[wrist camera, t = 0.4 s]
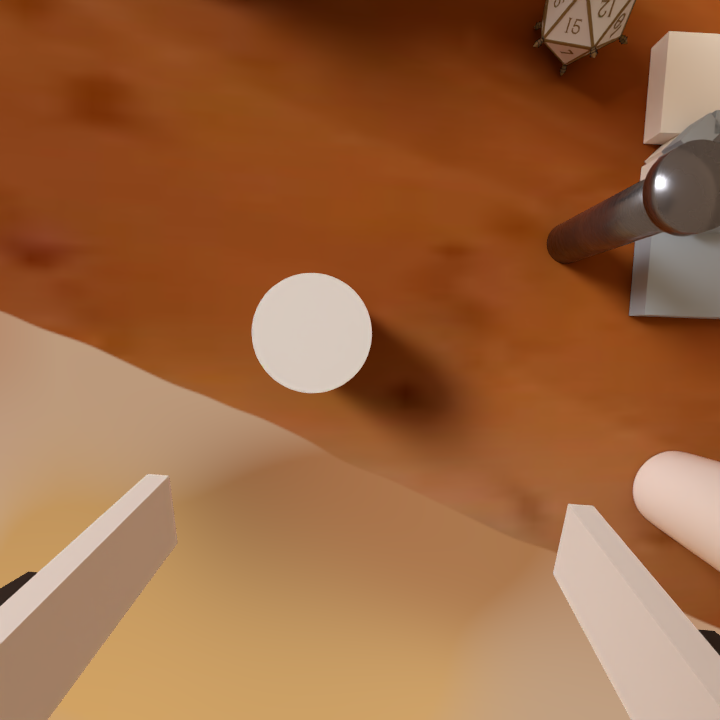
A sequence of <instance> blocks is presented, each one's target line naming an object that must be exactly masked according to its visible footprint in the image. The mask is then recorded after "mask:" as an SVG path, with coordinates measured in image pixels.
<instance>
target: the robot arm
mask: <svg viewBox="0 0 720 720" xmlns="http://www.w3.org/2000/svg"><path fill="white" fill-rule="evenodd" d="M176 544H177V535H176V527H175V520H174V511H173V503H172V495H171V486H170V478H169V476H167V475H153V474H147V475H146V476H145V477H144V478H143V479H141V480H140V481H139V482H138V483H137V484H136V485H135V486H134V487H133V488H131V489H130V490H129V491H128V492H127V493H126V494H125V495H124V496H122V498H120V499H119V500H118V501H117V502H116V503H115V504H114V505H112V506H111V507H110V508H109V509H108V510H107V511H106V512H105V513H104V514H103V515H101V516H100V517H99V518H98V519H97V520H96V521H95V522H94V523H92V524H91V525H90V526H89V527H88V528H87V529H86V530H85V531H84V532H82V533H81V534H80V535H79V536H78V537H77V538H76V539H75V540H74V541H72V542H71V543H70V544H69V545H68V546H67V547H66V548H65V549H63V550H62V551H61V552H60V553H59V554H58V555H57V556H56V557H55V558H53V559H52V560H51V561H50V562H49V563H48V564H47V565H46V566H45V567H43V568H42V569H41V570H40V571H39V572H38V573H37V572H27V573H26V574H24V575H22V576H20V577H19V578H17V579H15V580H14V581H12V582H10V583H9V584H7V585H5V586H4V587H2V588H0V720H48V718H49V717H50V716H51V714H52V713H53V711H54V710H55V709H56V707H57V706H58V705H59V703H60V702H61V701H62V699H63V698H64V696H65V695H66V694H67V692H68V691H69V690H70V688H71V687H72V686H73V684H74V683H75V682H76V680H77V679H78V677H79V676H80V675H81V673H82V672H83V671H84V669H85V668H86V666H87V665H88V664H89V663H90V661H91V660H92V658H93V657H94V656H95V654H96V653H97V652H98V650H99V649H100V647H101V646H102V645H103V643H104V642H105V641H106V639H107V638H108V636H109V635H110V634H111V633H112V631H113V630H114V629H115V627H116V626H117V624H118V623H119V622H120V620H121V619H122V618H123V616H124V615H125V613H126V612H127V611H128V610H129V608H130V607H131V605H132V604H133V603H134V601H135V600H136V598H137V597H138V596H139V595H140V593H141V592H142V590H143V589H144V588H145V586H146V585H147V584H148V582H149V581H150V580H151V578H152V577H153V576H154V574H155V573H156V571H157V570H158V569H159V567H160V566H161V565H162V563H163V561H165V559H166V558H167V557H168V555H169V554H170V552H171V551H172V550H173V548H174V547H175V546H176ZM553 575H554V576H555V578H556V580H557V582H558V584H559V586H560V588H561V590H562V592H563V593H564V595H565V597H566V599H567V601H568V603H569V604H570V607H571V608H572V610H573V612H574V614H575V616H576V618H577V620H578V621H579V623H580V625H581V627H582V629H583V631H584V633H585V635H586V636H587V638H588V640H589V642H590V644H591V646H592V648H593V650H594V652H595V653H596V655H597V657H598V659H599V661H600V663H601V665H602V667H603V669H604V670H605V672H606V674H607V676H608V678H609V680H610V682H611V683H612V685H613V687H614V689H615V691H616V693H617V695H618V697H619V699H620V700H621V702H622V704H623V706H624V708H625V710H626V712H627V714H628V715H629V717H630V719H631V720H720V635H719V634H717V633H716V632H715V631H708V630H698V629H697V628H696V627H695V626H694V625H693V623H691V621H690V620H689V619H688V618H687V616H686V615H685V614H684V613H683V612H682V610H681V609H680V608H679V607H678V606H677V605H676V603H675V602H674V601H673V600H672V599H671V597H670V596H669V595H668V594H667V593H666V592H665V590H664V589H663V588H662V587H661V586H660V584H659V583H658V582H657V581H656V580H655V578H654V577H653V576H652V575H651V574H650V573H649V571H648V570H647V569H646V568H645V567H644V565H643V564H642V563H641V562H640V561H639V560H638V558H637V557H636V556H635V555H634V554H633V552H632V551H631V550H630V549H629V548H628V546H627V545H626V544H625V543H624V542H623V541H622V539H621V538H620V537H619V536H618V535H617V533H616V532H615V531H614V530H613V529H612V528H611V526H610V525H609V524H608V523H607V522H606V520H605V519H604V518H603V517H602V516H601V514H600V513H599V512H598V511H597V510H596V509H595V507H594V506H590V505H576V504H568V507H567V512H566V516H565V521H564V525H563V530H562V535H561V539H560V544H559V548H558V553H557V557H556V562H555V567H554V571H553Z"/></svg>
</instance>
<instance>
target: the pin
mask: <svg viewBox="0 0 720 720" xmlns="http://www.w3.org/2000/svg"><path fill="white" fill-rule="evenodd" d="M718 226H720V143H717V142H715V141H711V140H704V139H702V140H692V141H689V142H686V143H684V144H682V145H680V146H678V147H676V148H675V149H673V150H671V151H669V152H668V153H666V154H664V155H663V156H662V157H660V158H659V159H658V160H657V161H656V162H655V163H654V164H653V165H652V167H651V168H650V170H649V172H648V173H647V176H646V178H645V179H644V180H642V181H640V182H638V183H636V184H634V185H633V186H631V187H629V188H627V189H625V190H623V191H621V192H619V193H618V194H616V195H614V196H612V197H610V198H608V199H606V200H604V201H603V202H601V203H599V204H597V205H595V206H593V207H591V208H590V209H588V210H586V211H584V212H582V213H580V214H578V215H576V216H575V217H573V218H571V219H569V220H567V221H565V222H563V223H561V224H560V225H558V226H556V227H555V228H554V229H553V230H552V231H551V232H550V234H549V236H548V239H547V249H548V252H549V254H550V255H551V257H552V258H553V259H554V260H556V261H557V262H560V263H565V264H566V263H572V262H575V261H578V260H581V259H584V258H587V257H590V256H593V255H596V254H599V253H602V252H605V251H608V250H611V249H614V248H617V247H620V246H623V245H626V244H629V243H632V242H635V241H638V240H641V239H644V238H647V237H650V236H653V235H656V234H659V233H662V232H665V233H668V234H670V235H674V236H691V235H695V234H698V233H702V232H705V231H708V230H712V229H714V228H716V227H718Z"/></svg>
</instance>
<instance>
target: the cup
mask: <svg viewBox="0 0 720 720" xmlns="http://www.w3.org/2000/svg"><path fill="white" fill-rule="evenodd" d="M371 340H372V327H371V321H370V317H369V314H368V311H367V309H366V307H365V305H364V303H363V301H362V300H361V298H360V297H359V296H358V294H357V293H356V292H355V291H354V290H353V289H352V288H351V287H349V286H348V285H347V284H345V283H344V282H342V281H340V280H339V279H336V278H334V277H331V276H328V275H325V274H319V273H304V274H298V275H294V276H291V277H289V278H286V279H284V280H282V281H281V282H279V283H278V284H276V285H275V286H274V287H272V288H271V289H270V290H269V291H268V292H267V293H266V294H265V296H264V297H263V298H262V300H261V302H260V303H259V305H258V307H257V309H256V312H255V315H254V319H253V324H252V341H253V346H254V350H255V353H256V356H257V358H258V360H259V362H260V364H261V365H262V367H263V368H264V370H265V371H266V372H267V373H268V374H269V375H270V376H271V377H272V378H273V379H274V380H276V381H277V382H278V383H280V384H281V385H283V386H285V387H287V388H289V389H292V390H295V391H299V392H304V393H320V392H326V391H330V390H333V389H335V388H337V387H340V386H341V385H343V384H345V383H346V382H348V381H349V380H350V379H351V378H353V377H354V376H355V375H356V374H357V372H358V371H359V370H360V369H361V367H362V366H363V364H364V362H365V360H366V358H367V356H368V353H369V350H370V346H371Z"/></svg>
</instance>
